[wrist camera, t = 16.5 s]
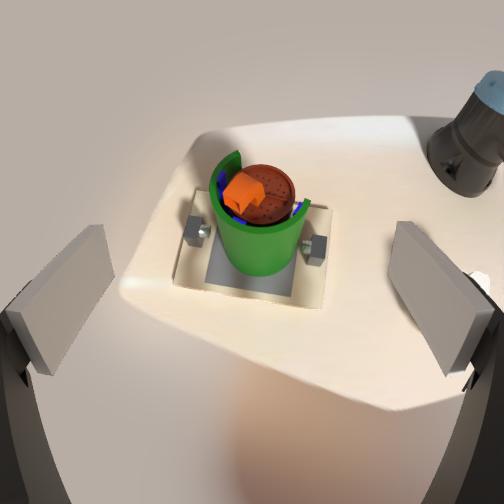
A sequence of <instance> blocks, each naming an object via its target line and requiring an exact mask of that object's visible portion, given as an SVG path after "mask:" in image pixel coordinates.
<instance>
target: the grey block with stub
mask: <svg viewBox="0 0 504 504" xmlns="http://www.w3.org/2000/svg"><path fill="white" fill-rule="evenodd" d="M326 247H327V236H321V235H315V234H313V235H312V237H311V240H310V241H308V240H302V244H301V253H304V254H307V262H306V265H310V266H317V267H320V266H321V265H322V263H323V262H324V260H325V256H326Z"/></svg>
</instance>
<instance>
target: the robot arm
mask: <svg viewBox="0 0 504 504" xmlns="http://www.w3.org/2000/svg"><path fill="white" fill-rule="evenodd" d="M427 154H428V159H429V162H430V164H431V167H432V169H433V170H434V172H435V174H436V175H437V176H438V178H439V179H440V180H441V181H442V182H443V183H444V184H445V185H446V186H447V187H448V188H449V189H451V190H452V191H453V192H455V193H457V194H459V195H461V196H464V197H469V198H473V197H478V196H480V195H481V194H482V193H483V192H484V191H486V190H487V189H488V187H489V186H490V184H491V182H492V179H493V177H494V175H495V173H496V170H497V168H498V166H499V165H500V164H501V163H502V162H504V72H502V71H490V72H488V73H487V74H486V75H485V76H484V77H483V79H482V80H481V81H480V83H478V84H477V85H476V86H475V90H474V92H473V93H472V95H471V96H470V98H469V99H468V101H467V103H466V104H465V105H464V107H463V108H462V110H461V111H460V113H459V114H458V115H457V117H456V118H455V120H454V121H452V122H451V123H449V124H448V125H446V126H445V127H442V128H440V129H438V130H437V131H436V132H435V133H434V134H433V136H432V137H431V139H430V140H429V142H428V145H427ZM387 276H388V277H389V279H390V280H391V282H392V283H393V285H394V287H395V288H396V290H397V292H398V293H399V295H400V297H401V298H402V300H403V301H404V303H405V305H406V307H407V308H408V310H409V312H410V313H411V315H412V317H413V318H414V320H415V322H416V324H417V325H418V327H419V329H420V331H421V332H422V334H423V336H424V338H425V340H426V341H427V343H428V345H429V347H430V349H431V351H432V352H433V354H434V356H435V358H436V360H437V362H438V364H439V366H440V368H441V369H442V371H443V373H444V375H445V377H446V378H448V377H453V376H457V375H462V374H463V373H464V371H465V370H466V368H467V366H468V364H469V362H471V363H472V365H473V367H474V368H475V369H474V371H473V372H472V374H471V376H470V378H469V379H468V381H467V383H466V384H465V386H464V388H463V389H462V391H463V392H464V391H465V390H466V388H467V390H466V394H465V397H464V401H463V404H462V407H461V410H460V413H459V417H458V419H457V422H456V425H455V428H454V430H453V433H452V436H451V439H450V441H449V444H448V446H447V449H446V452H445V454H444V456H443V458H442V461H441V463H440V466H439V468H438V470H437V472H436V474H435V477H434V479H433V481H432V483H431V485H430V487H429V490H428V491H427V493H426V495H425V497H424V499H423V501H422V503H421V504H504V313H503V312H502V310H501V309H500V308H499V307H498V306H497V304H496V303H495V302H494V301H493V300H492V299H491V298H490V296H489V295H488V294H486V292H485V291H484V290H483V289H482V288H481V286H480V285H479V284H478V283H477V282H476V281H475V280H474V279H473V278H472V277H470V276H469V275H467V274H466V273H464V272H462V271H461V270H460V269H459V268H458V267H457V266H456V265H455V264H454V263H453V262H452V261H451V260H450V259H449V258H448V257H447V256H446V255H445V254H444V253H443V252H442V251H441V250H440V248H439V247H438V246H437V245H436V244H435V243H433V242H432V241H431V240H430V239H429V238H428V237H427V236H426V235H425V234H424V233H423V232H422V231H421V230H420V229H419V228H418V227H417V226H416V225H415V224H414V223H413V222H406V221H397V226H396V232H395V238H394V243H393V249H392V254H391V259H390V264H389V269H388V274H387ZM114 277H115V276H114V272H113V268H112V263H111V259H110V255H109V251H108V246H107V241H106V237H105V232H104V227H103V224H102V225H89V226H88V227H87V228H85V229H84V230H83V231H82V232H81V233H80V234H79V235H78V236H77V237H76V238H75V239H73V241H71V242H70V243H69V244H68V245H67V246H66V247H65V248H64V249H63V250H62V251H61V252H60V253H59V254H58V255H57V256H56V257H55V258H54V259H53V260H52V261H51V262H50V263H49V264H48V265H47V266H46V267H45V268H44V269H43V270H42V271H41V272H40V273H39V274H38V275H37V276H36V277H35V278H34V279H33V280H31V281H30V282H28V284H27V285H26V286H25V287H24V288H23V289H22V291H20V292H19V293H18V294H17V296H16V297H15V298H14V299H13V300H12V301H11V302H10V303H9V304H8V305H7V306H6V308H5V309H4V310H3V311H2V312H1V313H0V504H71V502H70V500H69V498H68V495H67V493H66V490H65V488H64V485H63V483H62V481H61V478H60V476H59V473H58V470H57V468H56V465H55V462H54V459H53V457H52V454H51V451H50V448H49V445H48V442H47V438H46V435H45V432H44V429H43V425H42V422H41V419H40V414H39V411H38V407H37V403H36V399H35V394H34V390H33V385H32V381H31V376H30V373H29V371H28V370H27V368H26V367H27V365H28V364H29V362H30V361H31V362H32V364H33V366H34V368H35V369H36V371H37V373H41V374H45V375H50V376H54V374H55V372H56V370H57V368H58V367H59V365H60V363H61V361H62V360H63V358H64V356H65V355H66V353H67V351H68V349H69V348H70V346H71V344H72V343H73V341H74V339H75V338H76V336H77V334H78V332H79V331H80V330H81V328H82V326H83V324H84V323H85V321H86V320H87V318H88V317H89V315H90V314H91V312H92V311H93V309H94V307H95V306H96V304H97V303H98V301H99V300H100V298H101V297H102V295H103V294H104V292H105V291H106V289H107V288H108V286H109V285H110V283H111V282H112V280H113V279H114Z"/></svg>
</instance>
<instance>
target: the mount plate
mask: <svg viewBox="0 0 504 504" xmlns="http://www.w3.org/2000/svg"><path fill="white" fill-rule="evenodd" d="M297 206H298V205H297V204H294V205H293V210H292V214H291V217H292V216H293V212H294V211H295V209H296V208H297ZM190 215H191V216H198V217H203V220H204V222H205V225H211V234H210V237H209V238H204V242H203V246H202V248H198V247H192V246H188V244H187V242H186V241H185V239H184V240H183V244H182V248H181V252H180V256H179V261H178V265H177V269H176V273H175V277H174V282H173V284H174V285H175V286H179V287H184V288H189V289H195V290H200V291H205V292H211V293H216V294H222V295H228V296H233V297H239V298H245V299H251V300H257V301H263V302H269V303H275V304H281V305H288V306H294V307H301V308H308V309H314V310H321V309H322V304H323V296H324V288H325V280H326V271H327V262H328V252H329V242H330V232H331V220H332V210H327V209H321V208H315V207H309V209H308V212H307V215H306V218H305V221H304V224H303V227H302V230H301V233H300V236H299V239H298V242H297V245H296V248H295V251H294V254H293V257H292V259H291V260H290V262H289V263H288V264H287V266H286V267H284V268H283V269H282V270H281V271H279V272H277V273H275V274H273V275H270V276H264V277H256V276H250V275H247V274H245V273H242V272H241V271H239V270H238V269H236V268H235V267H234V266H233V265H232V264H231V262H230V261H229V259H228V257H227V255H226V252H225V249H224V245H223V242H222V238H221V235H220V231H219V228H218V224H217V221H216V217H215V214H214V210H213V206H212V203H211V199H210V194H209V192H206V191H198V190H197V191H196V195H195V199H194V202H193V206H192V210H191V213H190ZM313 234H315V235H321V236H327V247H326V256H325V260H324V262H323V263H322V265H321V266H320V267H317V266H310V265H306V262H307V254H304V253H301V244H302V240H308V241H310V240H311V237H312V235H313Z"/></svg>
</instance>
